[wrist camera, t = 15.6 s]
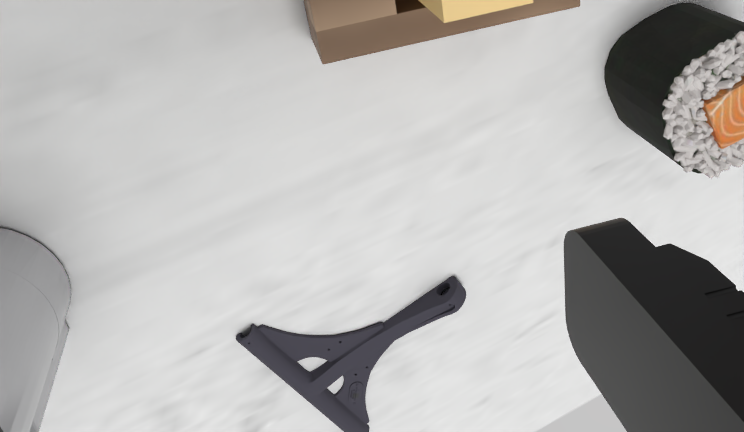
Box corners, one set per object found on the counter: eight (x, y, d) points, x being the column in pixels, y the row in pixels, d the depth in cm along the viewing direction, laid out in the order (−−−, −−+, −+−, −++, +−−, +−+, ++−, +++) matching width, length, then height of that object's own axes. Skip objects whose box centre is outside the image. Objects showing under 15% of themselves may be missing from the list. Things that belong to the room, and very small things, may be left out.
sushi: (701, -21, 42) (793, 8, 36) (732, 87, 47) (819, 131, 40) (585, 50, 43) (654, 92, 36) (626, 150, 48) (694, 204, 41)
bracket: (501, 330, 54) (514, 353, 52) (351, 430, 57) (357, 456, 54) (402, 210, 47) (411, 230, 45) (235, 329, 49) (236, 354, 47)
